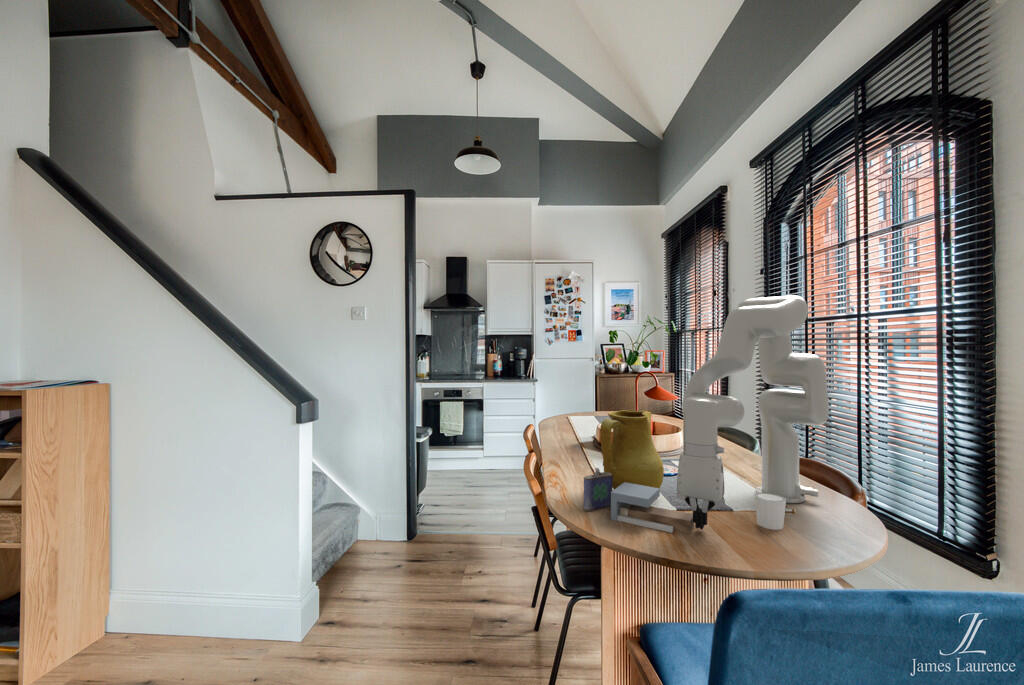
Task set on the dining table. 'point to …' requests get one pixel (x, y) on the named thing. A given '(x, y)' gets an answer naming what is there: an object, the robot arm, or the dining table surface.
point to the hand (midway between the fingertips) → (700, 526)
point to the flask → (597, 491)
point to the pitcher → (630, 449)
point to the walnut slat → (660, 516)
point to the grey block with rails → (636, 497)
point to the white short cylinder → (770, 510)
